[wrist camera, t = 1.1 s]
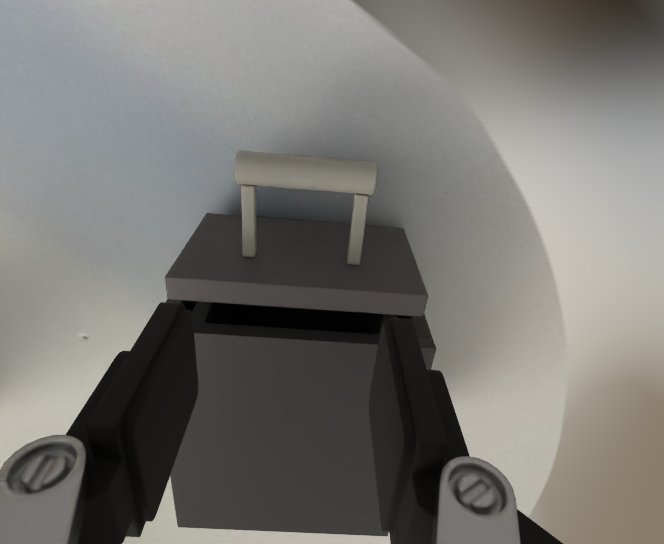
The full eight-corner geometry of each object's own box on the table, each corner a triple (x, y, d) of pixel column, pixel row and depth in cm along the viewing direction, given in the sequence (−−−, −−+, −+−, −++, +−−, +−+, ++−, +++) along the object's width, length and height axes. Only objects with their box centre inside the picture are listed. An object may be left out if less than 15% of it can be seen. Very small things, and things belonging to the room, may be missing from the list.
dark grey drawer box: (202, 239, 27) (148, 330, 19) (405, 255, 27) (436, 348, 19) (213, 410, 34) (177, 527, 26) (374, 419, 34) (387, 536, 26)
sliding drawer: (201, 123, 22) (150, 161, 16) (419, 142, 23) (453, 187, 17) (216, 387, 31) (188, 478, 25) (373, 396, 32) (384, 488, 26)
